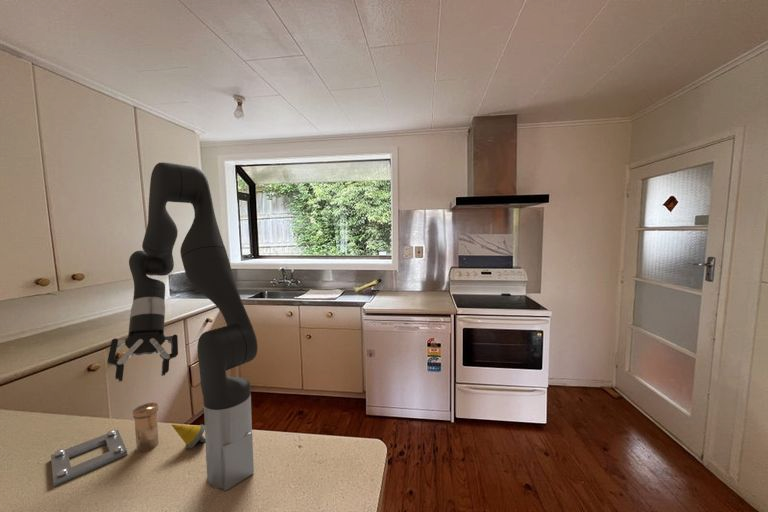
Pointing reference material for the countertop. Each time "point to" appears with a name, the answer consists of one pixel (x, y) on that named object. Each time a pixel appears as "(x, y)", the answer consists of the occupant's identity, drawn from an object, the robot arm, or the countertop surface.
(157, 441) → the pipe stub
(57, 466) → the flange
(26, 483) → the countertop surface
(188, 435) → the drill bit
